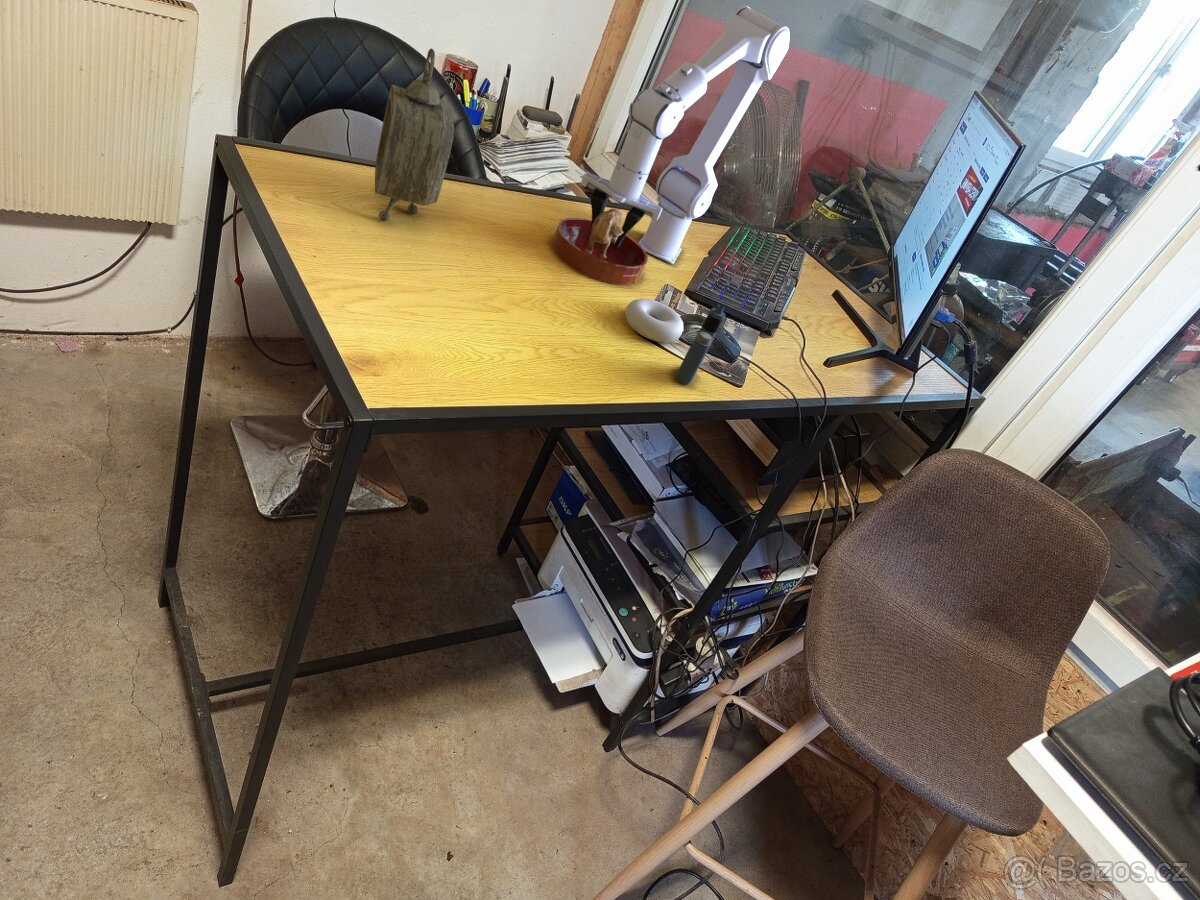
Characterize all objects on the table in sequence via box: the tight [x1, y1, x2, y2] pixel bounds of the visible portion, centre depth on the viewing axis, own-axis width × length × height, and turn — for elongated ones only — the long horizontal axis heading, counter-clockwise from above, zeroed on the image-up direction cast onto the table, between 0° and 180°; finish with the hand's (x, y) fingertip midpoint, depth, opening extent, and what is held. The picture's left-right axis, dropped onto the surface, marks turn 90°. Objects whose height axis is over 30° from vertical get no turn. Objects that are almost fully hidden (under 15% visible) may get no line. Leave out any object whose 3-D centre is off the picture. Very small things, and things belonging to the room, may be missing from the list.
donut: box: [624, 298, 684, 344], centre depth 125 cm, size 10×3×10 cm
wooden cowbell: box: [374, 48, 455, 222], centre depth 118 cm, size 14×9×25 cm, turn 14°
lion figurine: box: [585, 208, 624, 258], centre depth 135 cm, size 15×5×9 cm, turn 173°
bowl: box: [551, 217, 649, 286], centre depth 138 cm, size 17×17×4 cm
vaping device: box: [675, 304, 726, 386], centre depth 114 cm, size 3×5×12 cm, turn 161°
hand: (604, 239), depth 137 cm, fingers closed on lion figurine, 4 cm apart
